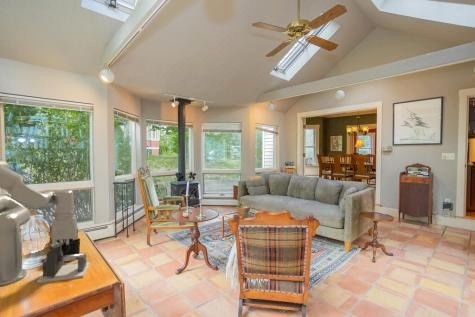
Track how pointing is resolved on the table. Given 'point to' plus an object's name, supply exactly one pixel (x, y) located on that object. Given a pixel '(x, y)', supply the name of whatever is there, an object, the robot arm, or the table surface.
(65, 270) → the base board
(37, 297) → the table surface
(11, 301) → the table surface
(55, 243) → the valve
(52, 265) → the collar
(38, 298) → the table surface
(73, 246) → the pen holder
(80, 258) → the pipe
